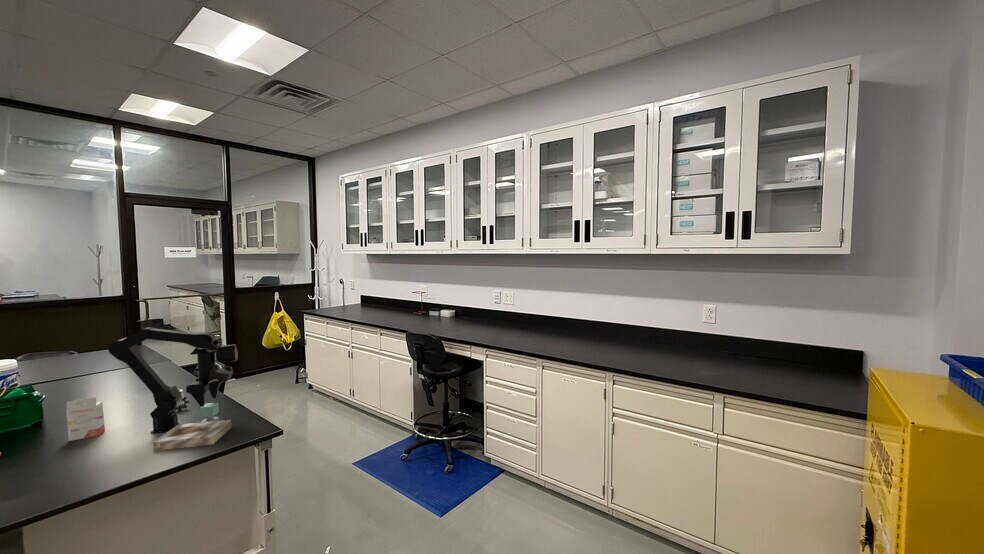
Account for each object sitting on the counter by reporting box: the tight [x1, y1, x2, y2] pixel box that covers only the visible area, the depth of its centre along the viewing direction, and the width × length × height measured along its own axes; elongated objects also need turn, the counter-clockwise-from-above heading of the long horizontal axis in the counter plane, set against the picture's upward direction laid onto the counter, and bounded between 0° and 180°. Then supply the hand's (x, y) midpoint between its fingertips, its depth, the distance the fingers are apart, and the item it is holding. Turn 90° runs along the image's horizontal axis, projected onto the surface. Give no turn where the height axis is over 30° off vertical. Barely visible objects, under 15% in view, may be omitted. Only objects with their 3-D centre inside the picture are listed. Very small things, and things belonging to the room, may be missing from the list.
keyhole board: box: [152, 419, 232, 451], centre depth 138 cm, size 18×14×3 cm
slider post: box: [199, 401, 220, 423], centre depth 152 cm, size 6×6×7 cm
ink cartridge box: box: [65, 397, 106, 442], centre depth 142 cm, size 9×5×15 cm, turn 117°
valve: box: [173, 389, 190, 412], centre depth 169 cm, size 7×7×12 cm
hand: (208, 402), depth 152 cm, fingers open, 9 cm apart
